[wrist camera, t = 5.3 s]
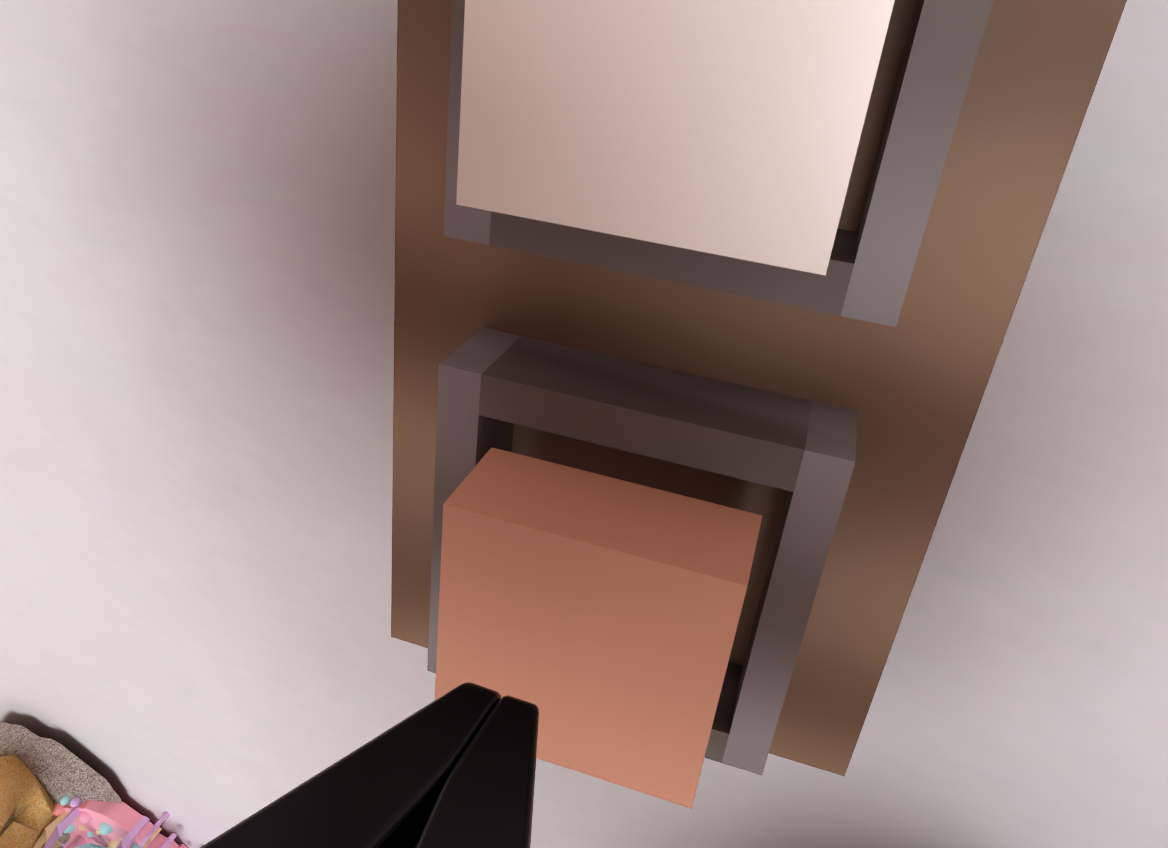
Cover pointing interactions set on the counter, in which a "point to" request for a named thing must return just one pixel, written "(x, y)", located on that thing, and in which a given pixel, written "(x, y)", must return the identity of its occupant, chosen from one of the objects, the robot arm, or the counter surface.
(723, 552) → the terracotta key
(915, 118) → the keypad board
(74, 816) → the candy landscape model
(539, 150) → the beige key
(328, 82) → the counter surface
